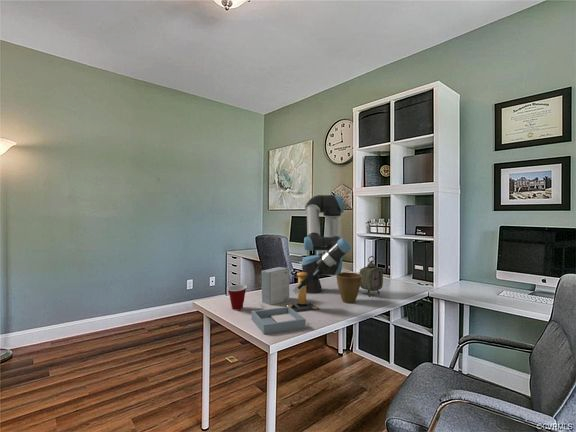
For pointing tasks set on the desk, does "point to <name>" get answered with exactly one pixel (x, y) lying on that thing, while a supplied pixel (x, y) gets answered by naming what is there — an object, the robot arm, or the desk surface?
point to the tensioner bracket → (302, 307)
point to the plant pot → (348, 286)
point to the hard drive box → (275, 285)
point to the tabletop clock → (371, 277)
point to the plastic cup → (237, 296)
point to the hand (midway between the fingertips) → (295, 290)
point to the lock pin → (303, 291)
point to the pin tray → (270, 325)
